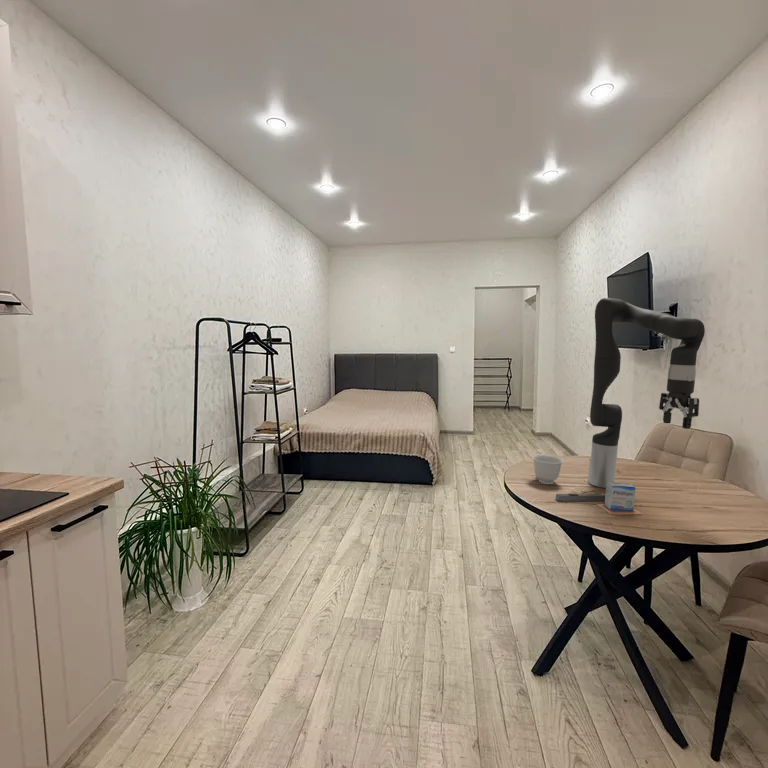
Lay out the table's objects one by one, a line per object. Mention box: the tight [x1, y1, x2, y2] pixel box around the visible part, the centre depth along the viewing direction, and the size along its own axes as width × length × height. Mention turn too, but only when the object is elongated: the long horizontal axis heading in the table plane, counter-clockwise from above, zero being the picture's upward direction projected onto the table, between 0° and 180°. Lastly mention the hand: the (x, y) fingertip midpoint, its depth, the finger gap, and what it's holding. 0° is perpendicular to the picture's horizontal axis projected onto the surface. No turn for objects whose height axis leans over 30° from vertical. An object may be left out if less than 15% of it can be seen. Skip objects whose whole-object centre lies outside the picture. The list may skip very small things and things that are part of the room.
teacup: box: [531, 453, 564, 485], centre depth 171 cm, size 12×15×10 cm
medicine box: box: [604, 482, 637, 511], centre depth 143 cm, size 8×4×9 cm, turn 84°
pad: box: [596, 503, 643, 515], centre depth 144 cm, size 8×11×1 cm
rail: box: [555, 493, 606, 502], centre depth 151 cm, size 2×24×4 cm, turn 94°
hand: (676, 425), depth 141 cm, fingers open, 8 cm apart
